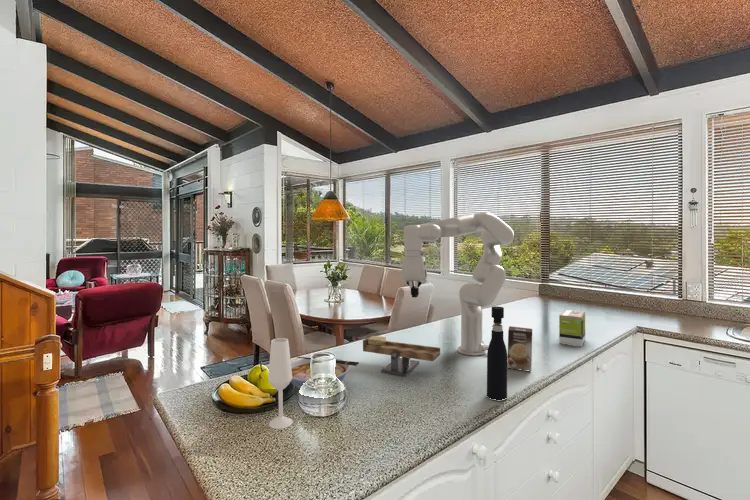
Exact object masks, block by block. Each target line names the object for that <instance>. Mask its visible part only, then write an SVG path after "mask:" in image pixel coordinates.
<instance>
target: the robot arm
mask: <svg viewBox="0 0 750 500" xmlns="http://www.w3.org/2000/svg"><path fill="white" fill-rule="evenodd" d="M478 232H479V233H480V232H481V234H480V235H481V236H480V238H481V241H482V245H483V253H482V255H481V257H480V258H479V261H478V262H477V265H476V266H475V268H474V269H473V272H472V279H473V280H474V281H475V282H476V283H474V282H468V283H464V284H463V285H462V286H461V287H460V289H459V292H458V294H459V295H458V296H459V301H460V302H459V303H460V314H461V315H460V317H461V318H460V346H458V347H457V352H459V353H460V354H462V355H466V356H477V357H478V356H483V355H485V354H486V352H487V351H488V347H489V344H485V341H483V320H484V319H483V310H482V308H489V307H490V306H492V305H493V303H495V301H496V299H497V298H498V295H499V293H500V292H501V290H502V288H503V286H504V284H505V282H506V277H507V273H506V271H505V269H504V268H503V267H502V266H501V265H500V263H501V260H502V257H503V256H502V251H501V247H500V246H508V245H511V244H512V243H513V241H514V239H515V234H514V230H513V229H512V228H511V226H509V225H508V224H507V223H506V222H504V221H503V220H502V219H501V218H499V217H498V216H496V215H495V214H493V213H491V212H477V213H469V214H465V215H459V216H456V217H450V218H446V219H441V220H437V221H435V220H434V221H431V222H425V223H421V224H410V225H405V226H404V227H403V243H404V244H403V245H404V257H403V258H402V265H401V278H402V280H401V281H402V283H403V284H406V285H408V286H409V288H410V296H411V298H418V297H419V292H420V289H419V288H420V286H422V285H424V284H427V282H428V281H427V279H428V269H427V263H426V259H425V258H426V257H425V256H424V255H426V251H424V249H423V242H436V241H437V240H439V239H440V238H453V237H454V238H455V237H459V236H460V237H461V236H465V235H469V234H474V233H478Z"/></svg>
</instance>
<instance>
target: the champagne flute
mask: <svg viewBox="0 0 750 500" xmlns="http://www.w3.org/2000/svg"><path fill="white" fill-rule="evenodd" d="M291 363H292V361H291V352H290V344H289V339H288V338H285V337H279V338H274V339H272V340H270V352H269V364H268V377H267V379H268V383H269V384H270V385H271V387H272V388H274V389H275V390H277V392H278V393H277V395H278V396H277V397H278V415H277V417H275V418H274V419H272V420H270V421H269V423H268V426H269V428H272V429H275V430H281V429H285V428H288V427H290V426H292V424H293V422H294V421H293V419H292V418H290V417H287V416H284V406H283V405H284V404H283V403H284V399H283V398H284V397H283V396H284V394H283V390H284V389H286V388H287V387H288V386H289V385H290V383H292V382H291V380H292V369H291Z"/></svg>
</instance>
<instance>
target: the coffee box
mask: <svg viewBox="0 0 750 500" xmlns="http://www.w3.org/2000/svg"><path fill="white" fill-rule="evenodd" d="M507 331H508V332H507V335H508V336H507V368H512V369H511V370H513V369H521V370H529V371H531V372H532V364H533V362H532V361H533V355H532V354H533V328H528V327H520V326H519V327H518V326H511V325H509V327H508V330H507Z"/></svg>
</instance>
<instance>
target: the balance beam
mask: <svg viewBox="0 0 750 500" xmlns="http://www.w3.org/2000/svg"><path fill="white" fill-rule="evenodd" d="M372 336H376V334H375V335H374V334H373V335H371V336H370V335H369V337H367V338H365V339H363V340H362V352H367V353H372V354H373V353H374V354H380V355H386V356H391V352H399V353H400V358H402V357H406V358H410V359H412V360H419V361H427V362H434V361H436V359H437V358H439V356H440V355H441V347H436V346H428V345H421V344H413V343H412V344H411V343H405V342H397V341H391V340H390V341H388V340H386V346H384V347H382V346H374V345H368V338H370V337H372Z"/></svg>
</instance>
